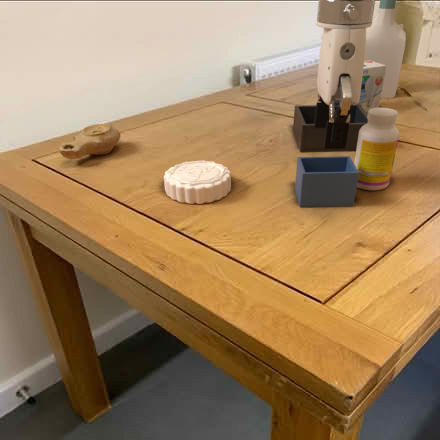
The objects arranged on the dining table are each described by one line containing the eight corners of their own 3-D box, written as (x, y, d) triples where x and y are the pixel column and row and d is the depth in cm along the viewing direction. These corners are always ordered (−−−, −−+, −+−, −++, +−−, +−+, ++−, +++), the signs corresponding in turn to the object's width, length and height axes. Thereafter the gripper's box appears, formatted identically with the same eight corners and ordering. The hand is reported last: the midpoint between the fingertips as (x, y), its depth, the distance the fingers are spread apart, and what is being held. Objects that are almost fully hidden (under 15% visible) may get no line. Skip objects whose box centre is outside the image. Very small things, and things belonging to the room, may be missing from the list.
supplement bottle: (394, 191, 83) (410, 116, 75) (357, 193, 82) (370, 118, 74) (380, 175, 88) (395, 104, 80) (346, 177, 88) (357, 106, 80)
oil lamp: (59, 168, 94) (53, 143, 91) (79, 142, 105) (75, 120, 102) (111, 168, 94) (107, 143, 91) (126, 142, 105) (122, 120, 102)
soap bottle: (355, 99, 127) (373, -22, 110) (350, 91, 133) (366, -25, 116) (396, 99, 126) (420, -23, 109) (389, 91, 132) (411, -26, 116)
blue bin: (345, 188, 84) (349, 156, 80) (353, 206, 78) (359, 172, 75) (294, 189, 84) (297, 157, 80) (299, 207, 79) (302, 173, 75)
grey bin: (355, 129, 108) (359, 104, 105) (370, 150, 98) (374, 123, 94) (292, 130, 109) (294, 105, 105) (300, 152, 98) (302, 125, 95)
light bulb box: (344, 117, 115) (351, 70, 109) (329, 109, 120) (334, 64, 114) (379, 110, 119) (388, 64, 112) (362, 104, 124) (370, 59, 117)
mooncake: (188, 171, 91) (187, 153, 89) (242, 183, 86) (242, 164, 84) (151, 196, 83) (149, 177, 81) (209, 210, 78) (208, 190, 76)
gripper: (390, 22, 57) (365, 157, 68) (358, 5, 71) (341, 120, 81) (328, 23, 57) (313, 157, 68) (308, 6, 71) (298, 120, 82)
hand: (328, 137), depth 75 cm, fingers open, 9 cm apart
